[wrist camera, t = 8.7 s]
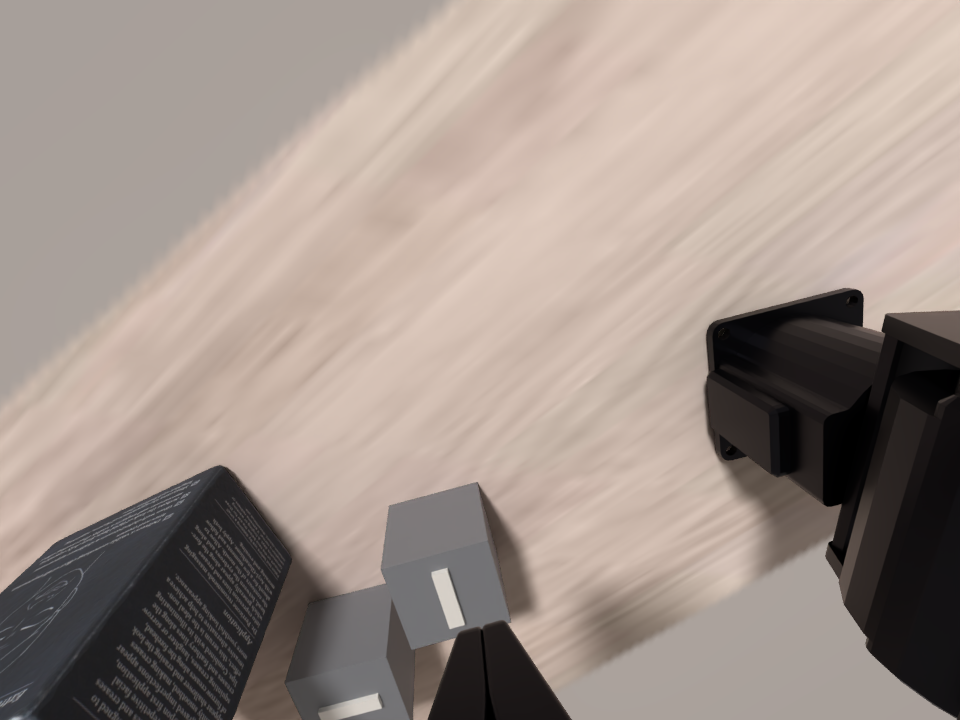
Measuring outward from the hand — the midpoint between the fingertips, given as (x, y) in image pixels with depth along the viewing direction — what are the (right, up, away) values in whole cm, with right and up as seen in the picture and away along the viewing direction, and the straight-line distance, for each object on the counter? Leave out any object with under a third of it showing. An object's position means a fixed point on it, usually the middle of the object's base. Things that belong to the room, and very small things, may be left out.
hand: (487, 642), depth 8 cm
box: (-13, -3, +13) cm, 18 cm away
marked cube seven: (-6, -8, +15) cm, 17 cm away
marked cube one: (-2, -3, +14) cm, 14 cm away
